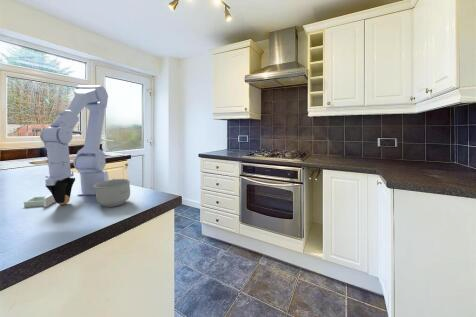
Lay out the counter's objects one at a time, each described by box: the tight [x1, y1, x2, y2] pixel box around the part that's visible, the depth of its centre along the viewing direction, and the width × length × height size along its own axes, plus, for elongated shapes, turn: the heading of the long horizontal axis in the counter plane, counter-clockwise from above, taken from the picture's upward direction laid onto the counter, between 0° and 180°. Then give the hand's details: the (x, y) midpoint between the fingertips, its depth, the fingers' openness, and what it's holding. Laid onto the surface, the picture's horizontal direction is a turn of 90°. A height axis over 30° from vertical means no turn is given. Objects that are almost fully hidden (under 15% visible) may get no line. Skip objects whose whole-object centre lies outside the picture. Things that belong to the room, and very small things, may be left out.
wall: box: [43, 193, 56, 208], centre depth 77 cm, size 1×7×3 cm, turn 17°
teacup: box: [94, 178, 131, 208], centre depth 78 cm, size 14×11×8 cm
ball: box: [57, 195, 71, 206], centre depth 76 cm, size 4×4×4 cm
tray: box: [23, 195, 48, 208], centre depth 77 cm, size 6×6×2 cm
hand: (63, 200), depth 76 cm, fingers closed on ball, 4 cm apart
